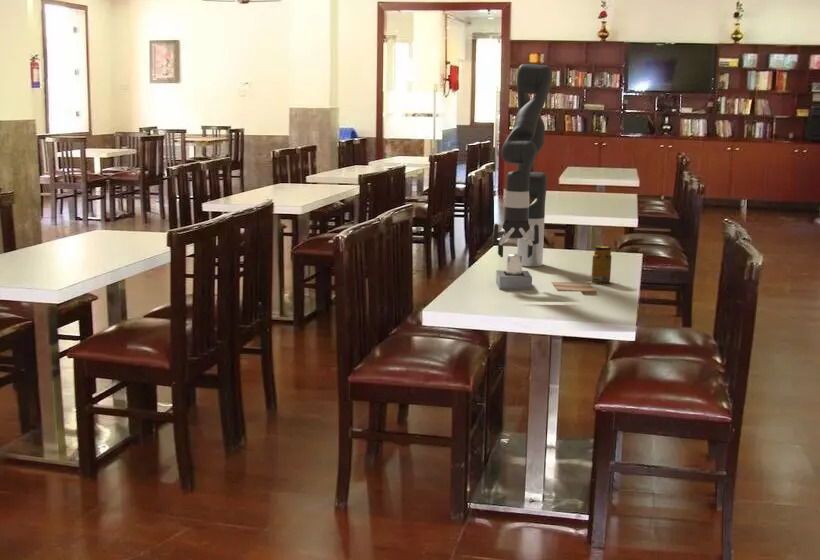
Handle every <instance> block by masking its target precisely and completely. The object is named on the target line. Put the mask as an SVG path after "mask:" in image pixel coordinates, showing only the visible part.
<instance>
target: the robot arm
mask: <svg viewBox="0 0 820 560" xmlns="http://www.w3.org/2000/svg"><path fill="white" fill-rule="evenodd" d="M516 73H517V74H516V90H517V91H516V92H517V110H518V111H517V114H516V115H515V119H514V122H513V126H512V130H511V131H510V133H509V135H508V136H507V138H506V139H505V141H504V142H503V144H502V148H501V151H500V152H501V153H500V154H501V159H502V160H503V161H504V162H505V163H507V164H516V170H513V171H509V172H508V173H507V174H506V185H505V187H506V188H505V196H504V214H503V215H504V216H503V217H504V218H503V223H502V224H501V223H499V224H498V223H493V227H492V229H493V230H492V231H493V232H492V240H491V241H492V242H493V244H496V245H497V254H498V256H499V258H503V257H504V243H505V242H506V241H507V240H508V238H511V239H515V238H516V239H517V244H516V245H517V246H516V247H517V248H516V254H521V255H522V267H542V266H543V257H544V241H545V240H544V238H545V237H544V236H545V217H546V216H545V215H546V214H545V211H546V197H547V187H548V177H547V174H546V173H545V172H543V171H541V172H540V171H539V172H538V171H532V168H533V165H534V163H535V160H536V158H537V155H538V154H539V152H540V151H541V150H542V148H543V146H544V144H545V134H546V133H545V132H546V131H545V129H546V126H545V123H544V121H543V118H542V117H541V116H540V115H541V113H542V110H543V107H544V106H545V102H546V101H547V98H548V96H549V93H550V90H551V87H552V83H553V82H552V81H553V71H552V68H551V66H549V65H546V64H545V65H544V64H536V63H534V64H533V63H522V64H520V65H519V66H518V68H517V71H516ZM530 94H535V95H534V96H533V97H532V98H530ZM530 199H536V201H535V202H534V203H532V204H530V203H531V202H530ZM501 229H503V232H504V233H503V234H502V236H501V237H500V239H498V234H499V232H500V231H501Z"/></svg>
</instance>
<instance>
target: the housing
mask: <svg viewBox="0 0 820 560" xmlns="http://www.w3.org/2000/svg"><path fill="white" fill-rule="evenodd" d="M495 274H496V275H495V284H496V286H497V288H498V290H503V291H504V290H510V291H511V290H514V291H515V290H517V291H526V290H527V291H532V288H533V276H532V275H531V273H530V272H529V270H522V276H506V270H501V269H500V270H496V272H495Z"/></svg>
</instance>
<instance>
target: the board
mask: <svg viewBox="0 0 820 560" xmlns="http://www.w3.org/2000/svg"><path fill="white" fill-rule="evenodd" d="M551 284H552V285H553V287H554V288H555V290H556V291H557V292H580V293H581V294H582V295H597V290H596V288H594V286H593V285H591V283H588V282H573V281H570V282H565V281H562V282H561V281H560V282H559V281H557V282H556V281H552V282H551Z"/></svg>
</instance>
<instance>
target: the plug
mask: <svg viewBox="0 0 820 560" xmlns="http://www.w3.org/2000/svg"><path fill="white" fill-rule="evenodd" d="M505 271H506V276H522V271H523V266H522V255H521V254H517V253H507V254H506V270H505Z"/></svg>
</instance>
